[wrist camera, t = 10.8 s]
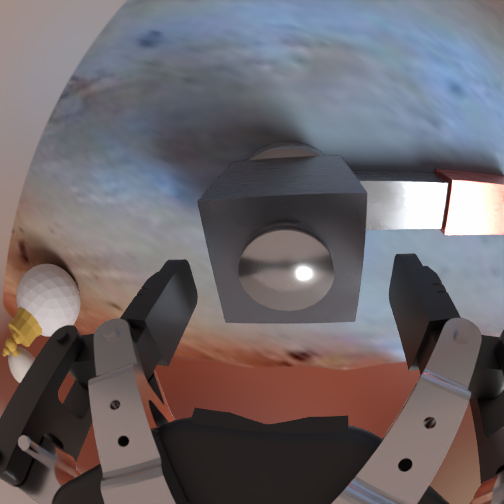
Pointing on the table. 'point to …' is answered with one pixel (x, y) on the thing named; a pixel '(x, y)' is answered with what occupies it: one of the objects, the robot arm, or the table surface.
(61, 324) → the perfume bottle
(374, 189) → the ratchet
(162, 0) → the table surface
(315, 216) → the cube with chrome knob
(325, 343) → the table surface
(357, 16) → the table surface
